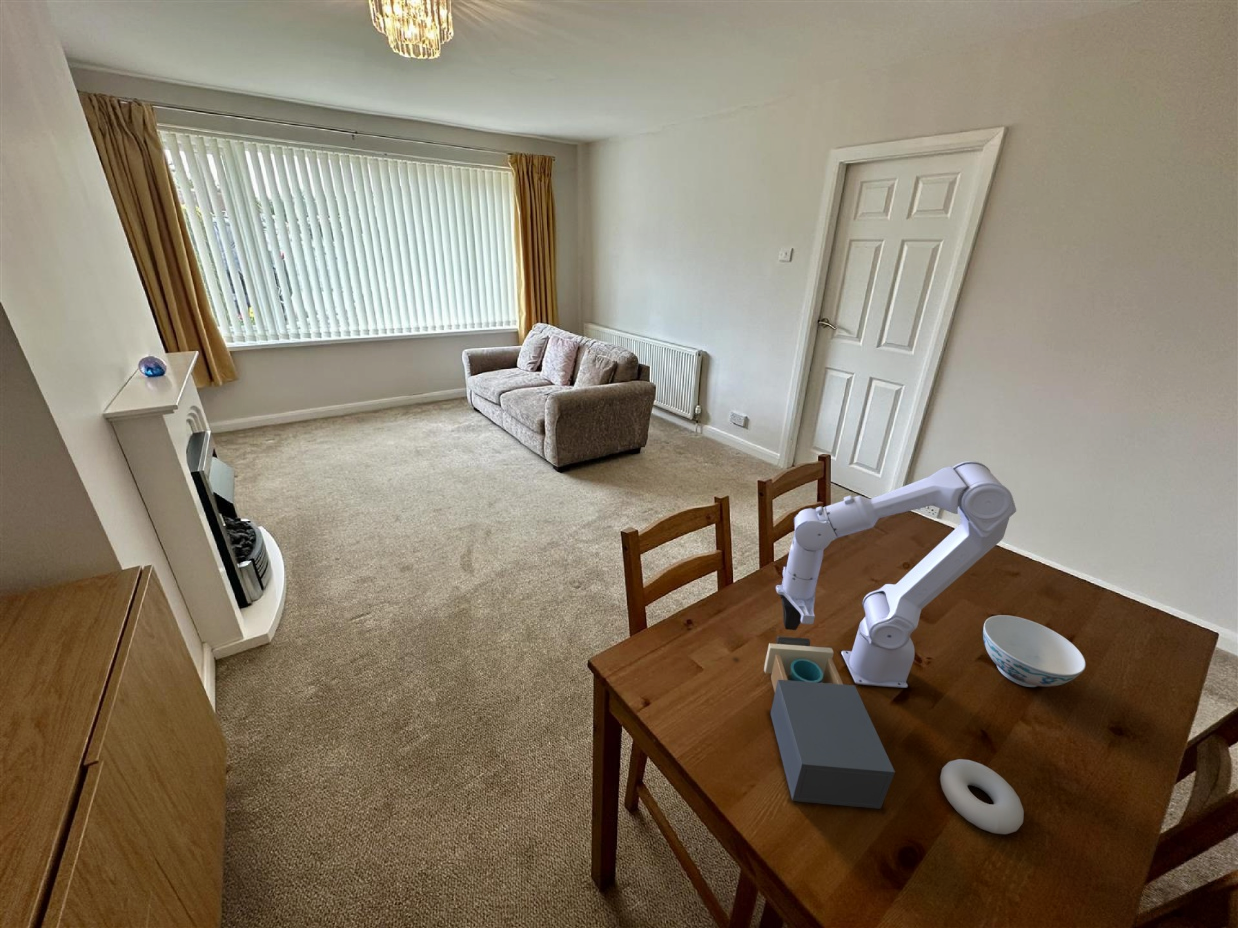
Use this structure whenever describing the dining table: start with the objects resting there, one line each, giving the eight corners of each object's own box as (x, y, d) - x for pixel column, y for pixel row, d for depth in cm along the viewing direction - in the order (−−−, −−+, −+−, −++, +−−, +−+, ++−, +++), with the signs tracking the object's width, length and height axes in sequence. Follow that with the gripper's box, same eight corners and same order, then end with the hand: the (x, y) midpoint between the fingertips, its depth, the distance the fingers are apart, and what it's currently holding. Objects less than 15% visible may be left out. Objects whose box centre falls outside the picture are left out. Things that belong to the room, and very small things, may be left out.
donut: (981, 766, 76) (922, 770, 75) (989, 752, 74) (928, 755, 73) (1037, 837, 66) (970, 842, 66) (1047, 822, 65) (979, 826, 64)
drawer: (759, 651, 95) (764, 627, 93) (818, 656, 94) (824, 631, 92) (780, 733, 79) (787, 705, 76) (851, 738, 78) (860, 711, 76)
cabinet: (770, 713, 83) (777, 679, 80) (844, 719, 83) (855, 685, 79) (792, 800, 70) (802, 764, 67) (880, 808, 69) (895, 772, 66)
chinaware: (1090, 704, 87) (1109, 673, 84) (1013, 707, 86) (1029, 676, 83) (1021, 643, 100) (1035, 614, 97) (953, 645, 99) (965, 615, 96)
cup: (812, 678, 88) (817, 659, 86) (822, 702, 83) (827, 683, 81) (783, 675, 88) (787, 657, 87) (791, 700, 84) (795, 681, 82)
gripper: (772, 547, 96) (762, 601, 102) (790, 594, 83) (777, 653, 88) (807, 549, 96) (795, 603, 101) (832, 596, 83) (816, 656, 88)
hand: (789, 627), depth 95 cm, fingers closed
